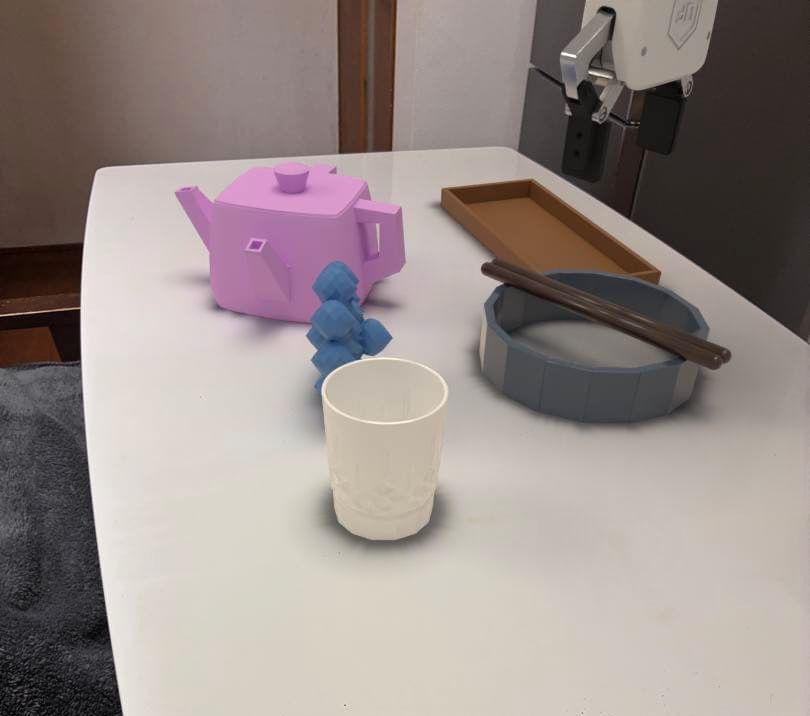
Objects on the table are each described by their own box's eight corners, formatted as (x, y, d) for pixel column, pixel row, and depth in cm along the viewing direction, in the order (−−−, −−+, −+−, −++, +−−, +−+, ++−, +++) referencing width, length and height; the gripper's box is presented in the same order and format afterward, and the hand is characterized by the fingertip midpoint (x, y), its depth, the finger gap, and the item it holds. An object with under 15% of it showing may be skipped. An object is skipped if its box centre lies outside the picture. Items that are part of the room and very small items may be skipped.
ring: (562, 301, 85) (570, 252, 82) (732, 370, 76) (749, 319, 72) (436, 365, 75) (439, 312, 72) (614, 455, 66) (627, 399, 62)
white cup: (393, 567, 55) (396, 439, 49) (303, 518, 59) (294, 392, 52) (461, 507, 60) (473, 384, 54) (374, 465, 64) (375, 344, 57)
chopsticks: (495, 267, 79) (497, 254, 78) (732, 363, 67) (736, 349, 66) (477, 275, 78) (478, 262, 77) (715, 374, 65) (719, 360, 64)
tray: (440, 209, 103) (441, 187, 102) (530, 198, 107) (532, 178, 105) (550, 311, 84) (553, 287, 82) (656, 294, 87) (661, 271, 85)
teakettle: (416, 311, 83) (421, 180, 75) (254, 353, 76) (240, 213, 68) (333, 248, 93) (329, 127, 85) (184, 280, 86) (165, 152, 78)
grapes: (390, 444, 66) (393, 298, 58) (302, 442, 66) (293, 296, 58) (392, 367, 75) (395, 231, 67) (314, 365, 74) (308, 229, 66)
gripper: (651, -118, 46) (593, 204, 57) (794, -124, 55) (721, 153, 67) (540, -129, 50) (506, 175, 61) (692, -133, 59) (639, 130, 71)
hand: (618, 163), depth 64 cm, fingers open, 9 cm apart
